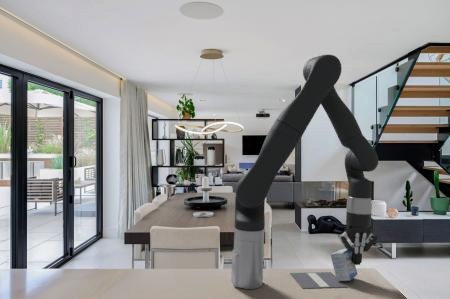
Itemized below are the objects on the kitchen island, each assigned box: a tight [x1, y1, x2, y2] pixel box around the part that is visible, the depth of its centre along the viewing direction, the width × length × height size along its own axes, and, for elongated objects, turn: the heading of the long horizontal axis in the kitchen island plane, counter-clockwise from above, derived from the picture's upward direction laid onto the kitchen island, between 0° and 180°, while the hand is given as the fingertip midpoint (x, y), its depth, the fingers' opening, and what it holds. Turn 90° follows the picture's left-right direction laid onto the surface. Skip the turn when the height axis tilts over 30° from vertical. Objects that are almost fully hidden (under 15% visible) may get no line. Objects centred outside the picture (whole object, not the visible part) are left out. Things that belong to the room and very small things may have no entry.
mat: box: [289, 271, 349, 290], centre depth 113 cm, size 14×12×1 cm
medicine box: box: [330, 248, 358, 282], centre depth 114 cm, size 8×4×9 cm, turn 143°
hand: (356, 264), depth 113 cm, fingers closed
